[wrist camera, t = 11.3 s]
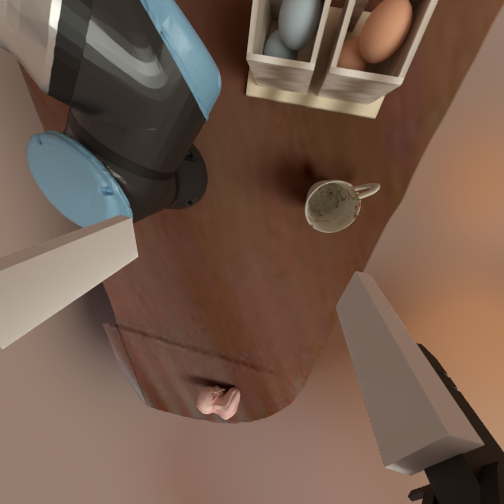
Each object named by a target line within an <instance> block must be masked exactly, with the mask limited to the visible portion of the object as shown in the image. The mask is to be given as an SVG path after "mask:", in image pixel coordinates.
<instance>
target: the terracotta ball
mask: <svg viewBox="0 0 504 504" xmlns="http://www.w3.org/2000/svg"><path fill="white" fill-rule="evenodd" d="M412 17H413V12H412V6H411V4H410V2H409V1H408V0H384V1H383V2H381V3H380V4H379V5H378V6H377V7H376V8H375V9H374V10H373V11H372V12H371V14H370V15H369V17H368V18H367V20H366V22H365V24H364V26H363V28H362V31H361V35H360V40H359V50H360V54H361V56H362V58H363V59H364V60H365V61H366V62H368V63H373V64H374V63H380V62H382V61H385V60H386V59H388V58H389V57H391V56H392V55H393V54H394V53H395V52H396V51H397V50H398V49H399V48H400V46H401V45H402V44H403V42H404V40H405V39H406V37H407V35H408V33H409V30H410V27H411V23H412Z"/></svg>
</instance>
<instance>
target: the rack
mask: <svg viewBox="0 0 504 504" xmlns="http://www.w3.org/2000/svg"><path fill="white" fill-rule="evenodd" d="M283 1H284V0H253V4H252V13H251V22H250V31H249V39H248V48H247V57H246V60H247V62H248V65H249V74H248V83H247V91H246V95H247V96H249V97H255V98H260V99H266V100H272V101H277V102H283V103H288V104H294V105H299V106H305V107H310V108H316V109H322V110H327V111H333V112H338V113H344V114H349V115H355V116H360V117H366V118H371V119H374V118H376V116H377V113H378V111H379V108H380V106H381V103H382V101H383V99H384V96H385V95H386V94H387V93H389V92H390V91H392V90H394V89H395V88H397V87H399V86H400V85H401V84H402V82H403V79H404V77H405V75H406V72H407V70H408V68H409V66H410V63H411V61H412V59H413V56H414V54H415V52H416V50H417V47H418V45H419V43H420V41H421V38H422V36H423V34H424V31H425V29H426V27H427V25H428V22H429V20H430V18H431V15H432V13H433V11H434V9H435V6H436V4H437V2H438V0H408V1H409V2H410V4H411V6H412V12H413V17H412V23H411V27H410V30H409V33H408V35H407V37H406V39H405V40H404V42H403V44H402V45H401V46H400V48H399V49H398V50H397V51H396V52H395V53H394V54H393V55H392V56H391V57H389V58H388V59H386V60H385V61H382V62H380V63H374V64H373V63H369V66H368V68H367V70H366V72H363V71H357V70H351V69H345V68H339V67H336V66H337V62H338V59H339V56H340V52H341V49H342V45H343V43H344V42H345V41H346V40H348V39H349V38H352V37H355V36H360V35H361V31H362V28H363V26H364V24H365V22H366V20H367V18H368V17H369V15H370V14H371V12H365V11H364V9H365V7H366V5H367V3H368V1H369V0H346V1H345V4H344V6H343V8H336V7H330V4H331V0H321V20H320V24H319V28H318V30H317V33H316V35H315V36H314V38H313V40H312V41H311V42H310V43H309V44H308V45H307V46H306V47H305V48H303V49H301V50H298V57H297V61H296V60H289V59H283V58H277V57H271V56H265V55H263V54H264V48H265V44H266V42H267V40H268V38H269V37H270V35H271V34H272V33H273V32H274V31H276V30H278V29H279V24H278V23H279V13H280V9H281V5H282V3H283Z"/></svg>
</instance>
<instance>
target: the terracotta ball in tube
mask: <svg viewBox="0 0 504 504" xmlns="http://www.w3.org/2000/svg"><path fill="white" fill-rule="evenodd" d="M359 40H360V36H355V37H352V38H349V39H348V40H346V41H345V42H344V43H343V45H342V49H341V52H340V56H339V59H338V62H337V66H336V67H339V68H345V69H351V70H357V71H363V72H366V70H367V68H368V66H369V63H368V62H366V61H365V60H364V59H363V58H362V56H361V54H360V50H359Z"/></svg>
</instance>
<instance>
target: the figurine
mask: <svg viewBox="0 0 504 504" xmlns="http://www.w3.org/2000/svg"><path fill="white" fill-rule="evenodd" d="M224 390H225V389H223V388H220V387H219V386H217V385H216V386H215V387H205V388H203V389H202V391H201V392H200V394H199V396H198V399H197V407H198V409H199V410H200V411H201V412H202V413H204V414H209V413H218V414H219V415H220V416H221V417H222V418H223V419H225V420H227V419H229V418H230V417H232V416H233V415H234V414H235V413H236V411H237V407H238V404H239V400H240V392H239V389H238V388H237V387H234V388H231V389H230V390H229V391H228V392H227V393H226V395H223V392H224Z"/></svg>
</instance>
